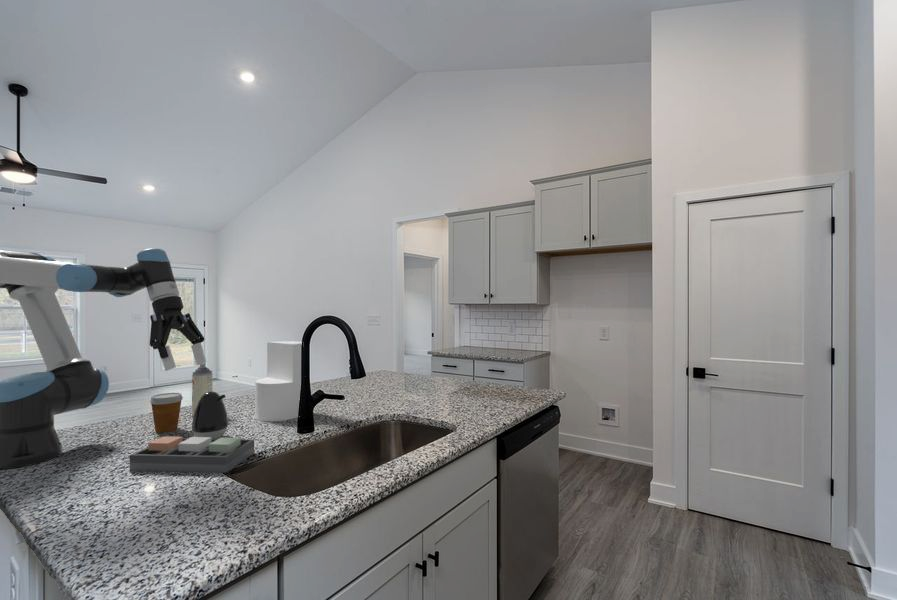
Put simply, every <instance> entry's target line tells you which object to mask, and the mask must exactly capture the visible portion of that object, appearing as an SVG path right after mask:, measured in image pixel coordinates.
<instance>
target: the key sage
mask: <svg viewBox="0 0 897 600" xmlns="http://www.w3.org/2000/svg"><path fill="white" fill-rule="evenodd" d="M240 445H241V437H220V438H219V439H218V440H216V441H214V442H212V443H210V444H209V452H230V451H231V450H233V449H235V448H236V447H238V446H240Z"/></svg>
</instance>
